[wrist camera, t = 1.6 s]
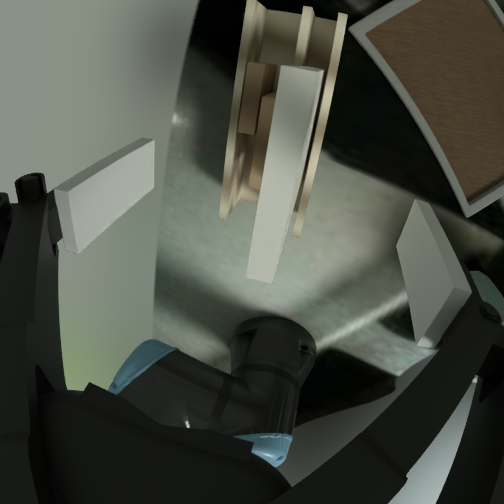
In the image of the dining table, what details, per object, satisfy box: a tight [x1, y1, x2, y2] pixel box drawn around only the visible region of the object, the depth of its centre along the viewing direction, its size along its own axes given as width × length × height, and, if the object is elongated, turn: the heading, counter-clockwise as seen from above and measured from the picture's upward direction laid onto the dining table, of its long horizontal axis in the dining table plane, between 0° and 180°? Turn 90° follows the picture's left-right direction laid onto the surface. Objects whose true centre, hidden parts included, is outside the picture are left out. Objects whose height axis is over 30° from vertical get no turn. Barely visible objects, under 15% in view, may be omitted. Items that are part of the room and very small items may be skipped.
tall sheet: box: [246, 65, 325, 284], centre depth 25 cm, size 12×2×22 cm, turn 172°
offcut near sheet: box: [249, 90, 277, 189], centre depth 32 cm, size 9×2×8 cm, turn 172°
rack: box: [219, 0, 348, 238], centre depth 32 cm, size 24×9×7 cm, turn 172°
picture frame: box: [348, 0, 504, 218], centre depth 27 cm, size 19×2×30 cm
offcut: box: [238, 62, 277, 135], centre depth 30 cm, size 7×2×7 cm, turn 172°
